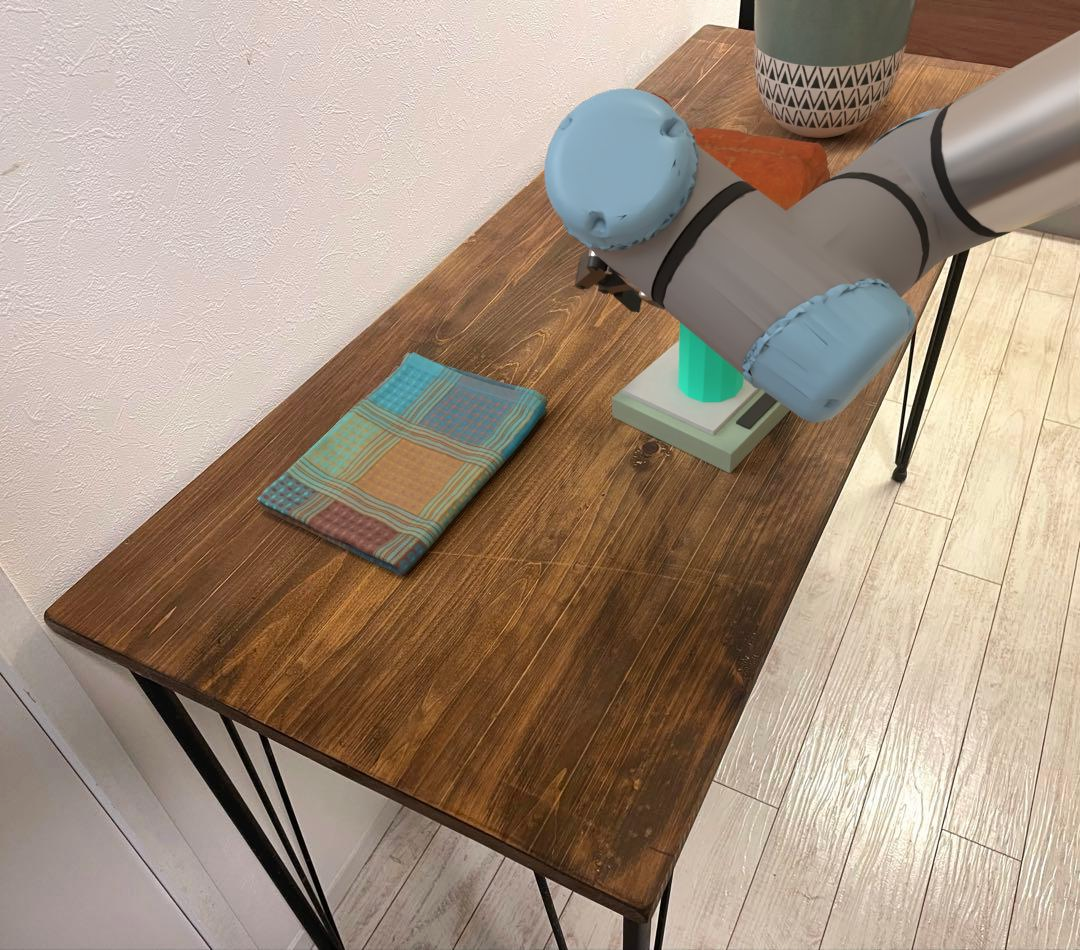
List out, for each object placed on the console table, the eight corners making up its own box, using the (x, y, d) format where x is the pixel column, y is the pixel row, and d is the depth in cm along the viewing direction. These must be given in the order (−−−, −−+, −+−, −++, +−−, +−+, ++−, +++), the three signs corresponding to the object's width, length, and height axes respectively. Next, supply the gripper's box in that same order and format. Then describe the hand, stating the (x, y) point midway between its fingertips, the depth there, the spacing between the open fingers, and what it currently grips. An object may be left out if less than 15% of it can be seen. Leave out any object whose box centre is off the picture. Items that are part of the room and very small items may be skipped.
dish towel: (555, 412, 88) (553, 392, 86) (407, 582, 75) (401, 562, 73) (414, 364, 95) (410, 344, 94) (256, 511, 82) (248, 491, 80)
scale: (805, 395, 87) (809, 370, 84) (729, 473, 80) (732, 449, 78) (690, 348, 93) (691, 324, 91) (612, 417, 87) (611, 392, 85)
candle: (686, 357, 87) (689, 246, 79) (749, 366, 86) (759, 254, 77) (670, 397, 84) (672, 284, 75) (736, 407, 82) (745, 293, 73)
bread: (802, 283, 100) (814, 193, 92) (578, 243, 109) (573, 159, 102) (836, 213, 109) (849, 127, 102) (628, 182, 119) (626, 102, 111)
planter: (890, 166, 116) (925, -17, 101) (733, 157, 121) (744, -18, 106) (897, 101, 129) (930, -70, 114) (755, 95, 134) (768, -69, 119)
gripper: (479, 275, 62) (569, 329, 82) (861, 327, 54) (857, 373, 74) (500, 165, 62) (585, 247, 82) (887, 201, 54) (876, 282, 74)
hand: (714, 307), depth 78 cm, fingers open, 13 cm apart
